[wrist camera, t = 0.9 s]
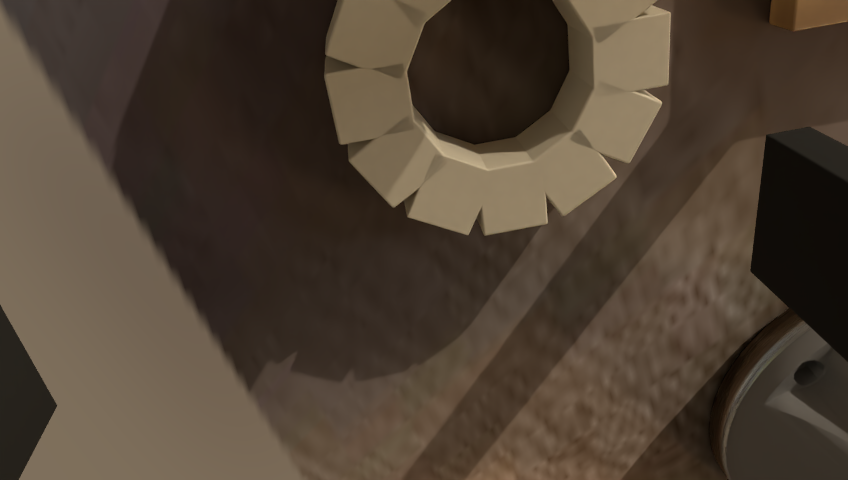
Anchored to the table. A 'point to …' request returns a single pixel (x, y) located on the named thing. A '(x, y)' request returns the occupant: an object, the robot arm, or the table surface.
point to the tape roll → (503, 159)
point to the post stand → (807, 13)
